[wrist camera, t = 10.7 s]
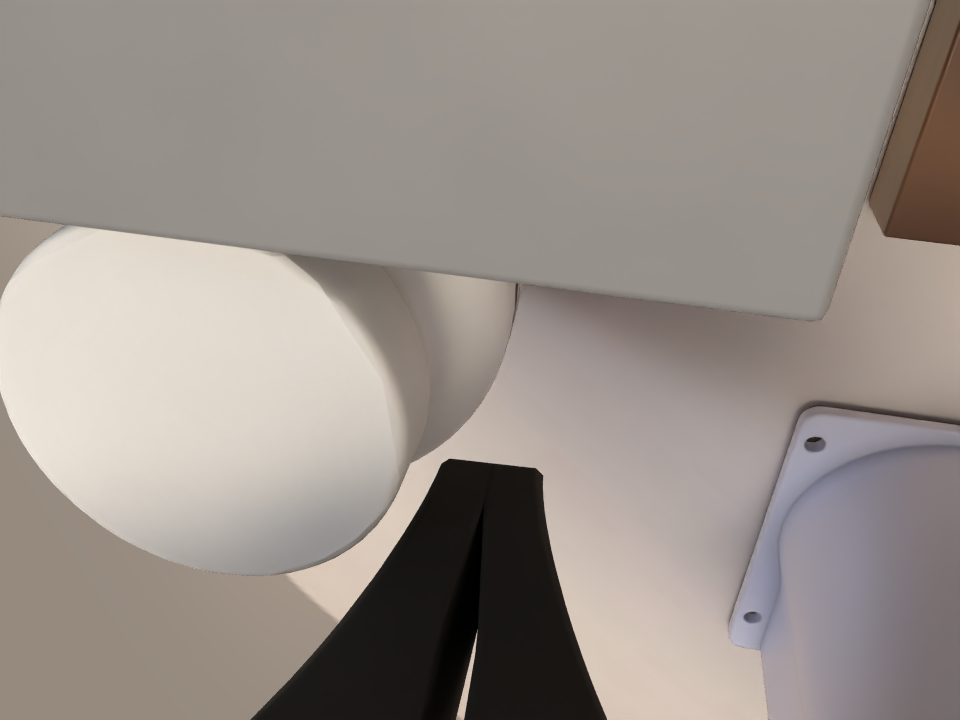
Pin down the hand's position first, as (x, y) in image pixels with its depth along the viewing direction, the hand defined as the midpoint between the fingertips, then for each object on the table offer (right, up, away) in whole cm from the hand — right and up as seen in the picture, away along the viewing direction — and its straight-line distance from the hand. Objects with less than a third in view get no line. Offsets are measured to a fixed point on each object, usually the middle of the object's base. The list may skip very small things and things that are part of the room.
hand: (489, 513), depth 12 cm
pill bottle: (-2, +7, +6) cm, 10 cm away
